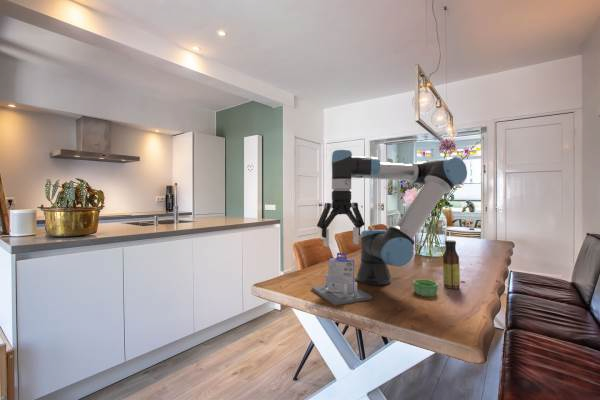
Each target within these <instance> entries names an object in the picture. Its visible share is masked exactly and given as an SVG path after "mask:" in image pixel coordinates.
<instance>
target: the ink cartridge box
mask: <svg viewBox="0 0 600 400" xmlns="http://www.w3.org/2000/svg"><path fill="white" fill-rule="evenodd" d="M327 261H328V262H327V263H328V265H327V266H328V268H327V269H328V270H327V271H328V272H327V274H328V292H340V293H344V284H347V293H353V292H354V282H355V259H354V258H347V253H345V252H344V253H342V252H336V258H329V260H327Z"/></svg>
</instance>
